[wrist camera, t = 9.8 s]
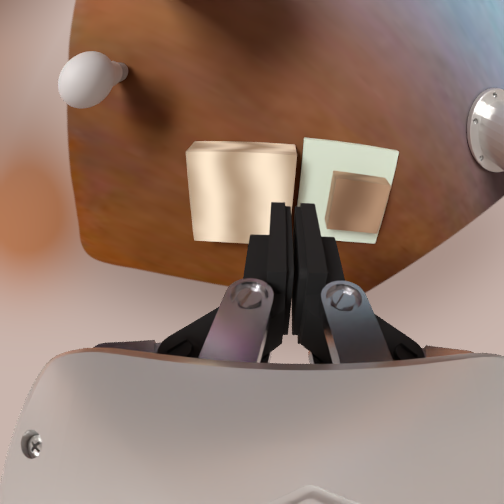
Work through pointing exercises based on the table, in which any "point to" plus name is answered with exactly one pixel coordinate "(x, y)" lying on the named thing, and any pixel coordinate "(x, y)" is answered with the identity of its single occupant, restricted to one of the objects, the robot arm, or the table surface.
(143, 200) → the table surface
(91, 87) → the lightbulb
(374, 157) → the sage mat
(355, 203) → the walnut block
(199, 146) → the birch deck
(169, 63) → the table surface
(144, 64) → the table surface
